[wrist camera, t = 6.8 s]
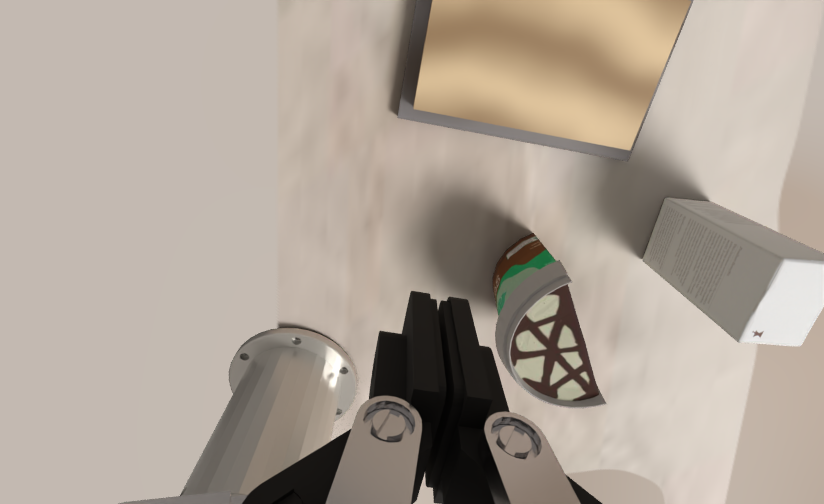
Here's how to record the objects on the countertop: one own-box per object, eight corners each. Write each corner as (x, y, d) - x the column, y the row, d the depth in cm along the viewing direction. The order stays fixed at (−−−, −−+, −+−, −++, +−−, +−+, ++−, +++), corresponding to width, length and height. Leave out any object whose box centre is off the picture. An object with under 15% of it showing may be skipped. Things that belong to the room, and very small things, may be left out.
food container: (460, 243, 36) (476, 306, 27) (528, 218, 35) (569, 274, 26) (502, 348, 41) (527, 432, 32) (563, 329, 40) (607, 409, 31)
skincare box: (686, 264, 37) (800, 350, 26) (640, 260, 37) (735, 345, 26) (714, 199, 34) (853, 264, 24) (664, 194, 34) (781, 258, 23)
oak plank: (620, 146, 32) (630, 150, 30) (413, 106, 30) (413, 109, 29) (677, 3, 27) (691, 0, 26) (440, -50, 26) (442, -56, 25)
